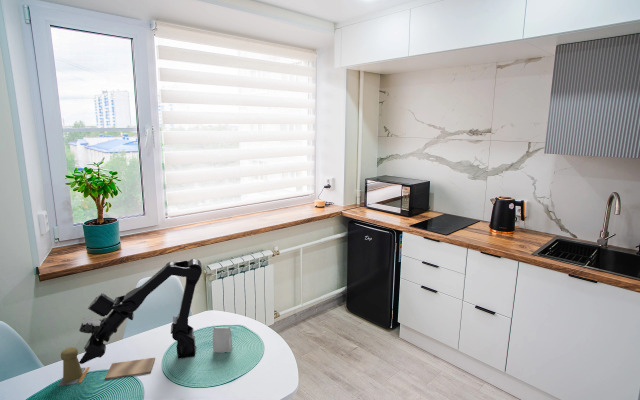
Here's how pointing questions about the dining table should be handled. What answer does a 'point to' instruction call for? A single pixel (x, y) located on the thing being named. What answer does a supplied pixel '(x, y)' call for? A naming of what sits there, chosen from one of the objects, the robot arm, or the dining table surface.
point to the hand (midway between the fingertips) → (82, 355)
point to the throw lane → (121, 370)
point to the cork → (71, 365)
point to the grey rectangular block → (222, 339)
